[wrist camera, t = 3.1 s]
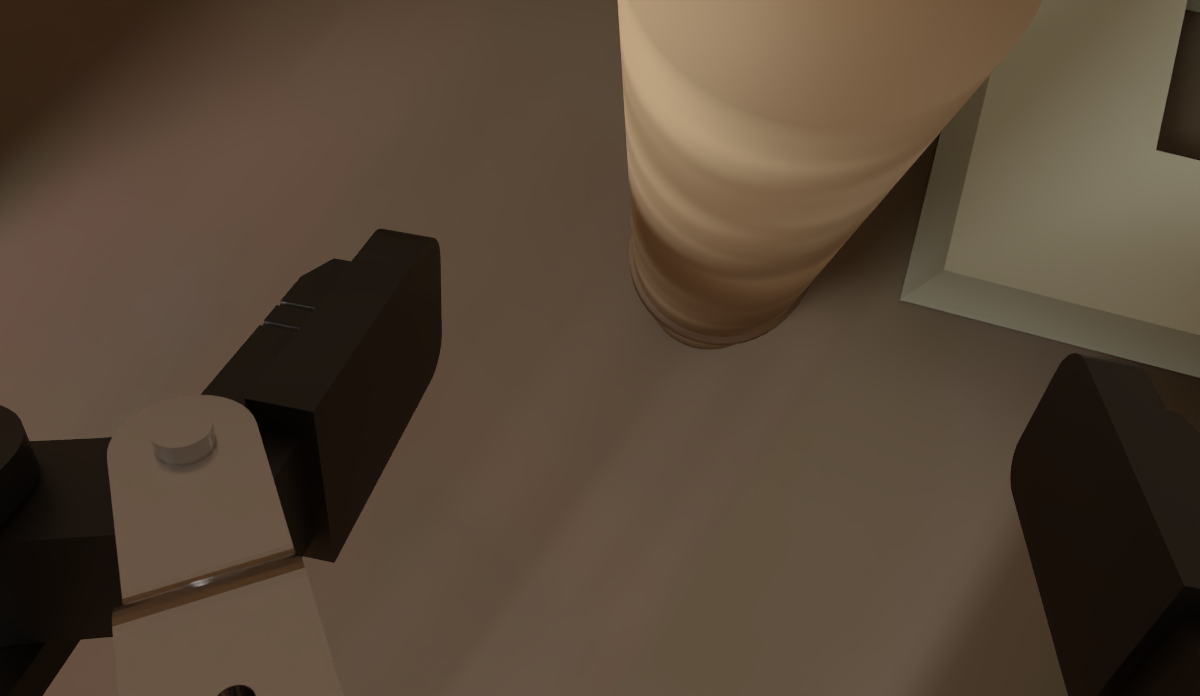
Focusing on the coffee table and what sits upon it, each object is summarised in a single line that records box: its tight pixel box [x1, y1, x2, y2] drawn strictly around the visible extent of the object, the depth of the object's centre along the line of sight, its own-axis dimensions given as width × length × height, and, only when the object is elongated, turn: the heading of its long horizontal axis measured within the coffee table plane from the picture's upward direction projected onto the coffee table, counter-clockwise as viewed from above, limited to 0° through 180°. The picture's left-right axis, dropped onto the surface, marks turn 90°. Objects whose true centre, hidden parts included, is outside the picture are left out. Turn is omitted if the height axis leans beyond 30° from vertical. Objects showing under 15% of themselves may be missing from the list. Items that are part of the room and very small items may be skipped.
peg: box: [618, 0, 1042, 349], centre depth 16 cm, size 4×4×16 cm
